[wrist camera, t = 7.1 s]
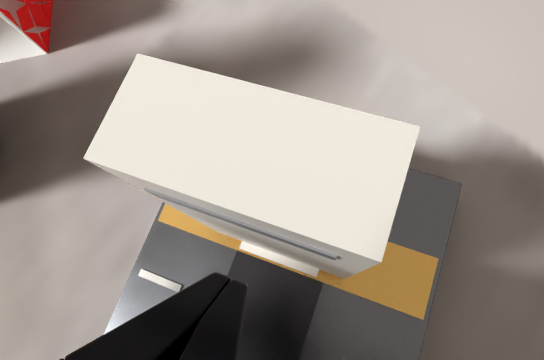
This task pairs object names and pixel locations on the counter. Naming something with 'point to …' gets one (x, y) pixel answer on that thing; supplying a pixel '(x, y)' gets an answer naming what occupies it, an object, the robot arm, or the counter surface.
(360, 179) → the fader tab
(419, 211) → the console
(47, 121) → the counter surface
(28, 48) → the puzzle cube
